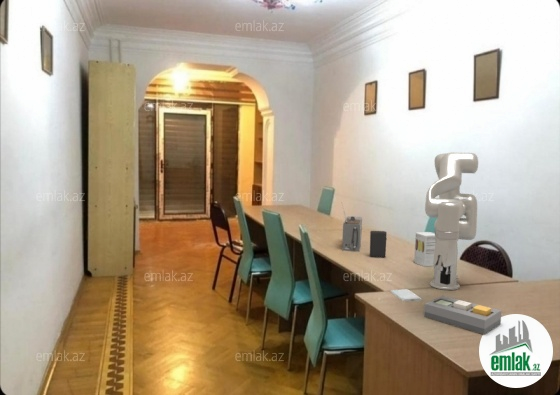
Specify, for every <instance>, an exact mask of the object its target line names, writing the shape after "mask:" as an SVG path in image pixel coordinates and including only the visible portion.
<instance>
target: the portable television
mask: <svg viewBox="0 0 560 395" xmlns="http://www.w3.org/2000/svg"><path fill="white" fill-rule="evenodd" d="M341 205H342V210H343V215H344V218H345V219H344V222H343V223H342V251H345V252H360V251H361V246H362V245H361V244H362V229H363V227H362V226H363V218H362V216H346V212H345V209H344V206H343V203H341Z"/></svg>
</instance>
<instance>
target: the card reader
mask: <svg viewBox="0 0 560 395" xmlns="http://www.w3.org/2000/svg"><path fill="white" fill-rule="evenodd" d="M369 233H370V235H369V239H370V240H369V257H372V258H382V259H383V258H386V253H387V252H386V250H387V240H388V239H387V231H384V230H370V232H369Z"/></svg>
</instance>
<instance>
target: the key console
mask: <svg viewBox="0 0 560 395" xmlns="http://www.w3.org/2000/svg"><path fill="white" fill-rule="evenodd" d="M440 300H443V301H447V302H451V303H453V304H454V302H456V301H458V300H459V299H458V298H454V297H450V296H445V295H441V296H438V297H437V298H434V299H432V300H430V301H428V302H426V303H424V310H423V311H424V312H423V316H424V318H427V317H428V318H427V319H430V318H431V319H430V320H433V319H434V321H436V322H440V323H443V322H444V324H447V325H451V326H453V325H454V327H458V328H460V329H463V328H464V330H467V329H468V330H467V331H470V330H471V332H473V331H474V333H477V334H481V335H484V336H485V335H486V334H488V333H489V332H491V331H492V330H494V329H495V328H497V327H498V326H500V325H501V323H502V322H501V321H502V310H501V309H497V308H494V307H489V306H488V307H489V308H491V315H489V316H483V315H479V314H475V313H473V307H475V306H477V305H479V304H477V303H473V302H469V301H468V302H469V303H472V306H471V309H470V310H468V311H464V310H461V309H457V308H453V304H451V305H449V306H446V305H442V304H438V303H436V302H438V301H440ZM460 300H461V301H463V300H462V299H460ZM464 301H465V300H464ZM465 302H467V301H465ZM481 306H483V305H481ZM484 306H485V305H484ZM485 307H487V306H485Z"/></svg>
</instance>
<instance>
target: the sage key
mask: <svg viewBox="0 0 560 395" xmlns="http://www.w3.org/2000/svg"><path fill="white" fill-rule="evenodd" d="M436 303H438V304H442V305H446V306H449V305H451V304H453V303H451V302H447V301H443V300H440V301H438V302H436Z"/></svg>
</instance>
